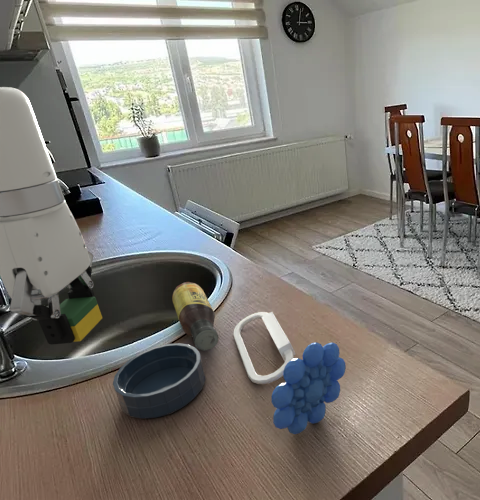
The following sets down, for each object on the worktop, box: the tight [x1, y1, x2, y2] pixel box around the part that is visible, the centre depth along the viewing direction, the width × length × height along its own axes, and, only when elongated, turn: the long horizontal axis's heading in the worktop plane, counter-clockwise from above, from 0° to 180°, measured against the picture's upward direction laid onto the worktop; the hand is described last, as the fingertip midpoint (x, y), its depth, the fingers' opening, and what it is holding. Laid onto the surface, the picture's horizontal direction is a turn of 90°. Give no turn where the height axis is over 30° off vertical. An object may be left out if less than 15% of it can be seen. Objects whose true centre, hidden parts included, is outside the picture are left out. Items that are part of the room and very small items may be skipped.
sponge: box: [59, 296, 103, 343], centre depth 56 cm, size 4×6×4 cm
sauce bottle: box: [171, 281, 219, 352], centre depth 79 cm, size 6×6×20 cm
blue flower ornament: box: [270, 342, 347, 435], centre depth 55 cm, size 12×7×12 cm, turn 130°
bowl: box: [112, 342, 207, 419], centre depth 63 cm, size 12×12×4 cm
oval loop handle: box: [232, 311, 297, 385], centre depth 71 cm, size 20×8×4 cm, turn 25°
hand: (76, 327), depth 56 cm, fingers closed on sponge, 5 cm apart
